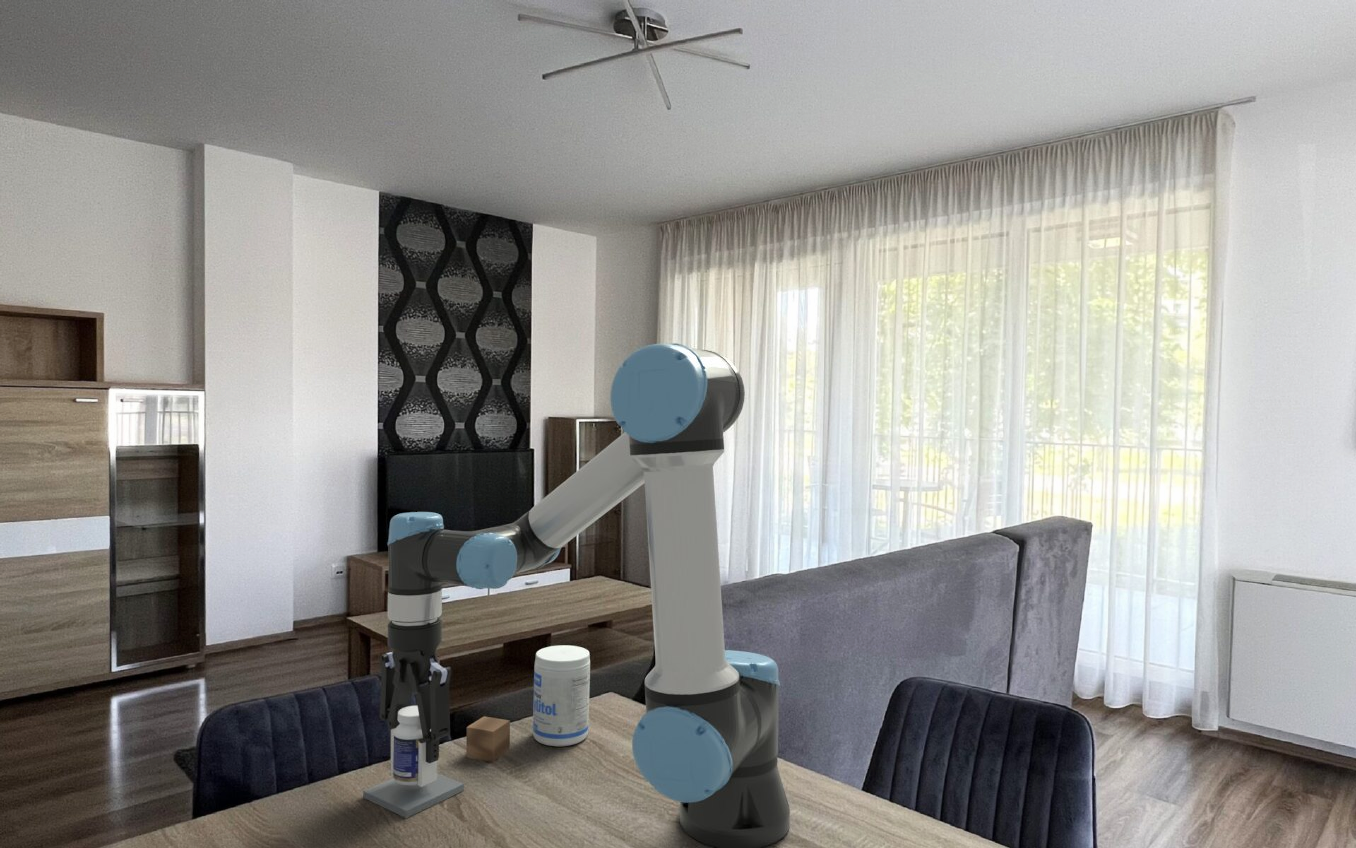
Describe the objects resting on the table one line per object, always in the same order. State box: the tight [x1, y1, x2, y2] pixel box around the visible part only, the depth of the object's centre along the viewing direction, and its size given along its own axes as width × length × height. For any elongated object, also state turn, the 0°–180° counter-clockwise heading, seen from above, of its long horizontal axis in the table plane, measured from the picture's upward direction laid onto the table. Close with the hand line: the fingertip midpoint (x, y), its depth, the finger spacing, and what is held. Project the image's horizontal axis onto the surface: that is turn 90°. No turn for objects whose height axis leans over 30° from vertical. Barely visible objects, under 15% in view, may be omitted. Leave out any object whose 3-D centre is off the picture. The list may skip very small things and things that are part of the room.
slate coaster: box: [362, 772, 465, 819], centre depth 118 cm, size 10×10×1 cm
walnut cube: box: [465, 715, 511, 763], centre depth 132 cm, size 5×5×5 cm
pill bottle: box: [392, 705, 431, 786], centre depth 118 cm, size 6×6×10 cm
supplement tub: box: [532, 644, 591, 747], centre depth 139 cm, size 10×10×15 cm
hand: (413, 776), depth 118 cm, fingers closed on pill bottle, 6 cm apart
